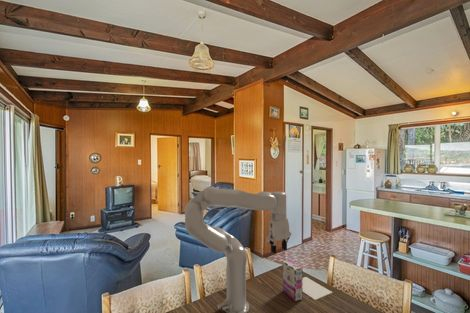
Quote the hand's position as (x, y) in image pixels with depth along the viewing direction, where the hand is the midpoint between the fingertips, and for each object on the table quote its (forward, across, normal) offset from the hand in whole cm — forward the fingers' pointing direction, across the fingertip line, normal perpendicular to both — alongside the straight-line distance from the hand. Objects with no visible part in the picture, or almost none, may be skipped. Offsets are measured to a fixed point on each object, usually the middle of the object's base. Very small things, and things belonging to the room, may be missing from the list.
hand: (279, 250), depth 127 cm
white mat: (+26, +22, 0) cm, 34 cm away
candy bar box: (+26, +9, 0) cm, 27 cm away
